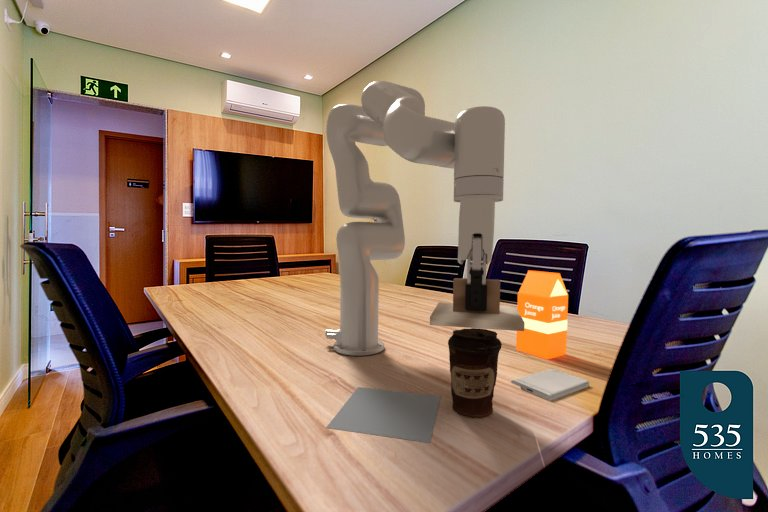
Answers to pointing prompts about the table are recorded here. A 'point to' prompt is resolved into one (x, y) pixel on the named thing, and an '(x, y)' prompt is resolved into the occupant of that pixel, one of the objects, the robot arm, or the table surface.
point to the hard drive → (551, 384)
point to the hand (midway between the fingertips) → (475, 307)
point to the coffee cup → (473, 371)
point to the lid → (488, 319)
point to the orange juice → (543, 315)
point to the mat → (388, 414)
